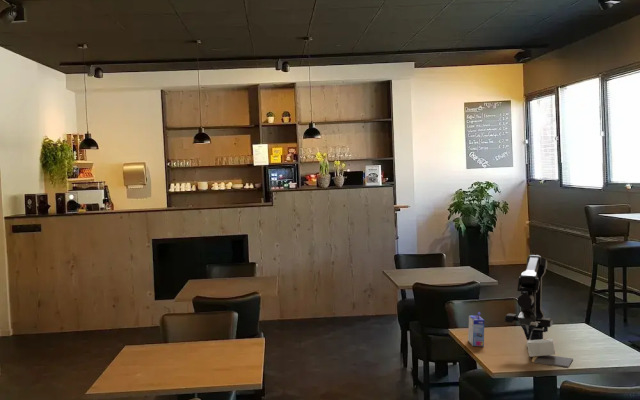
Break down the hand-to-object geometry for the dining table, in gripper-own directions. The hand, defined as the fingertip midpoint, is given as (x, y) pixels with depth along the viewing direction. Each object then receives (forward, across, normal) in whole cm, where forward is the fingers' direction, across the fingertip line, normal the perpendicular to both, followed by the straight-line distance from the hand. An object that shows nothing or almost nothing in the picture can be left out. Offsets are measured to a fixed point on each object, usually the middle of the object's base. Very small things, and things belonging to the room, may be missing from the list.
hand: (528, 340), depth 254 cm
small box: (+4, 0, +1) cm, 4 cm away
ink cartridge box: (+8, -26, +10) cm, 28 cm away
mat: (+8, +10, 0) cm, 12 cm away
